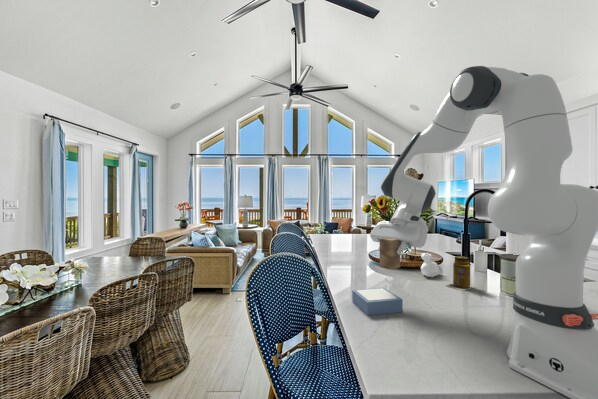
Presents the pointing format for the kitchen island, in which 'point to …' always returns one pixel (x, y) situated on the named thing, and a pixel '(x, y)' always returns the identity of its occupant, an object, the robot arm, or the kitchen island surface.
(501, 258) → the coffee can
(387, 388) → the kitchen island surface
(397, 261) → the walnut block
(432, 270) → the white rounded piece
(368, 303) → the pedestal
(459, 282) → the condiment
